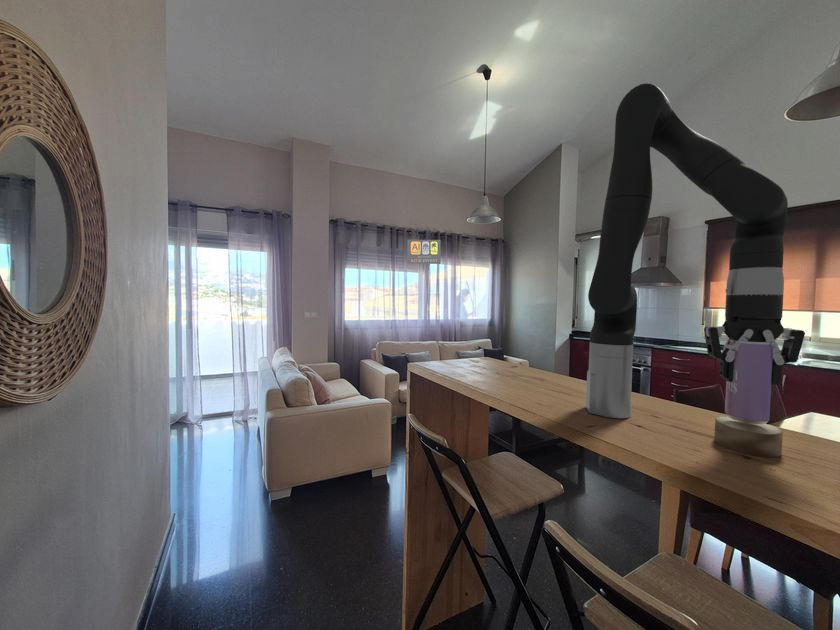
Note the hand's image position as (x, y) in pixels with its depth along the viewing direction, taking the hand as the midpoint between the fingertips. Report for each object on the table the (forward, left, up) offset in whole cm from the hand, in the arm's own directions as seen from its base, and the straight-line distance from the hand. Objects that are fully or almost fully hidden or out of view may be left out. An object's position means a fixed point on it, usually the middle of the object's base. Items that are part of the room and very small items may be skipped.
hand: (749, 382), depth 62 cm
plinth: (0, 0, -12) cm, 12 cm away
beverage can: (0, 0, -7) cm, 7 cm away
